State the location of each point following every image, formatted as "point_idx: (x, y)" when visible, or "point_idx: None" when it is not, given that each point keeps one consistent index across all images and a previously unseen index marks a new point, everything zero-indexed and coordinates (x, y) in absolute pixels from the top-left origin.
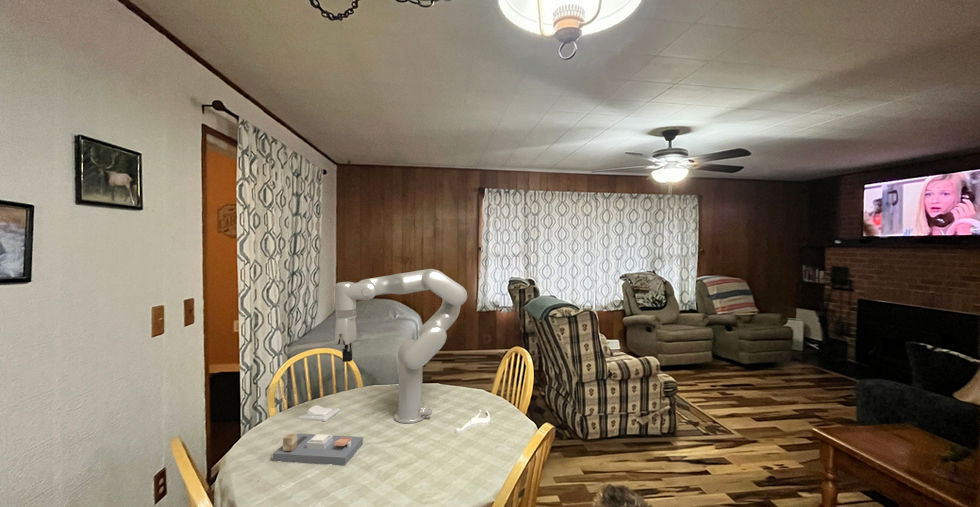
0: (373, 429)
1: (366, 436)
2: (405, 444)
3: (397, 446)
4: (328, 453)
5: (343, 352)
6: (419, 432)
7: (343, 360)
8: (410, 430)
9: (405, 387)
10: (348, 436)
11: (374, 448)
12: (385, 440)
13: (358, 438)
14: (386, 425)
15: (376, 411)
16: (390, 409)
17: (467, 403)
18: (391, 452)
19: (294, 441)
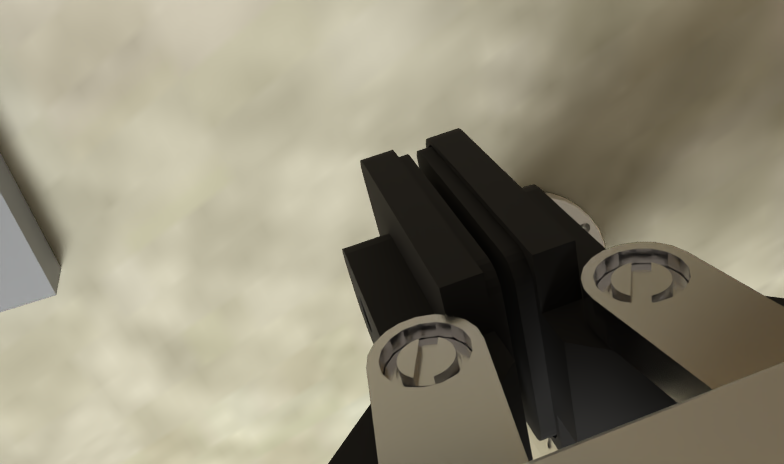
0: (275, 192)
1: (165, 218)
2: (186, 449)
3: (145, 433)
4: None
5: (436, 300)
6: (340, 425)
7: (372, 182)
8: (346, 378)
9: (537, 455)
10: (3, 205)
11: (56, 356)
12: (175, 344)
13: (20, 285)
14: (359, 227)
15: (550, 20)
16: (600, 96)
17: None
18: (70, 449)
19: None
